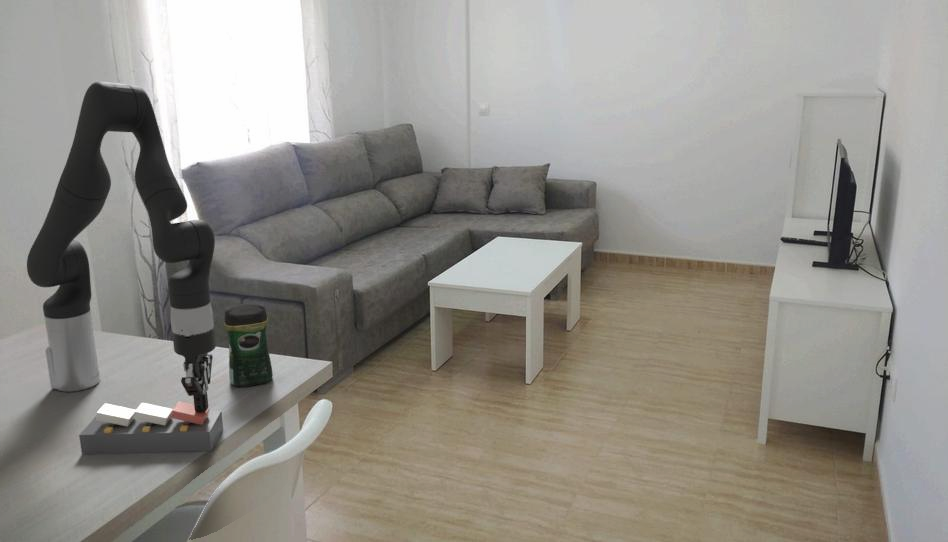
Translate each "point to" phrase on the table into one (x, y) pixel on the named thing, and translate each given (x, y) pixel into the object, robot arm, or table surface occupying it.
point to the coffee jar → (248, 344)
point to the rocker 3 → (189, 413)
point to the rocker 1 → (115, 414)
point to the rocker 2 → (153, 414)
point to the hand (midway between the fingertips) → (201, 410)
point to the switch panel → (151, 436)
